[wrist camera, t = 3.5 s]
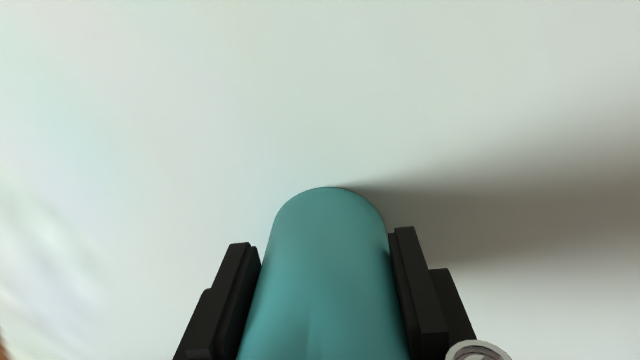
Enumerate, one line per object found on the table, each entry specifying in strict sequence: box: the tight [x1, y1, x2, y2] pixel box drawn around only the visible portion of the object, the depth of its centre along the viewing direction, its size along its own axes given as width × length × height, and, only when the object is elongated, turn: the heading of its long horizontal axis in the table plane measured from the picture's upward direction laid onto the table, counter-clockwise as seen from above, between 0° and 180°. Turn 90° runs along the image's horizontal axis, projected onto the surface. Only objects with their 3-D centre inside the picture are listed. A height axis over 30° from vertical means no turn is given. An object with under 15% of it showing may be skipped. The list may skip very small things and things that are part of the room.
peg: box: [236, 187, 411, 360], centre depth 10 cm, size 4×4×8 cm
